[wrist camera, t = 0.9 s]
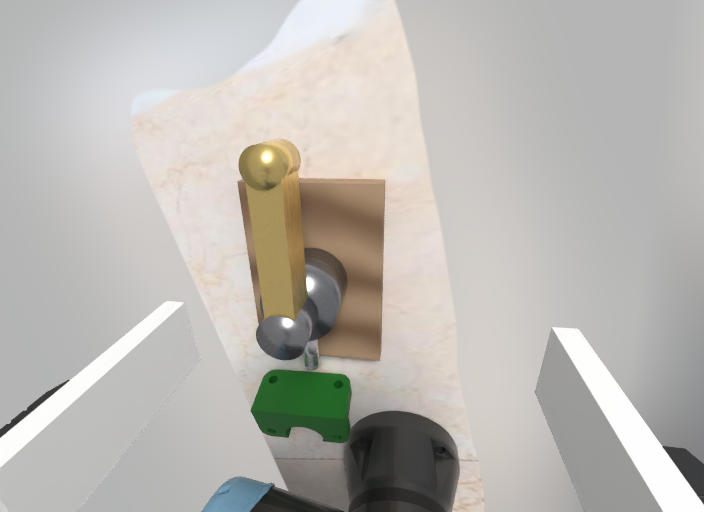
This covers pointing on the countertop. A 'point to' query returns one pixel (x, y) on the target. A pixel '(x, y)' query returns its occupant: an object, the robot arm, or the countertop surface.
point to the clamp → (304, 404)
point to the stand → (341, 256)
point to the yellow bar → (279, 247)
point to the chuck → (322, 296)
